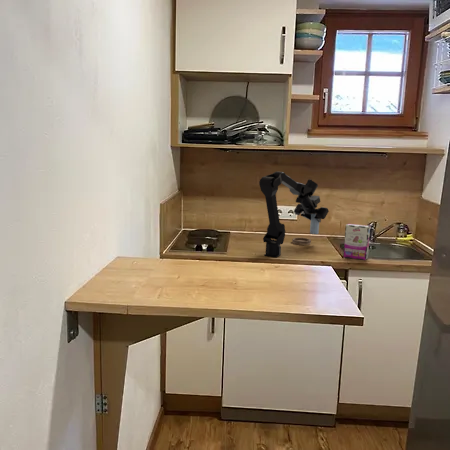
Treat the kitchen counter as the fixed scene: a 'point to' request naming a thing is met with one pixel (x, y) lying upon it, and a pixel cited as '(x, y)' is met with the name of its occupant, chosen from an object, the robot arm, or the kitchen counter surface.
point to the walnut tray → (301, 241)
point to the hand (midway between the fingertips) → (316, 221)
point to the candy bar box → (356, 241)
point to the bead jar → (314, 225)
